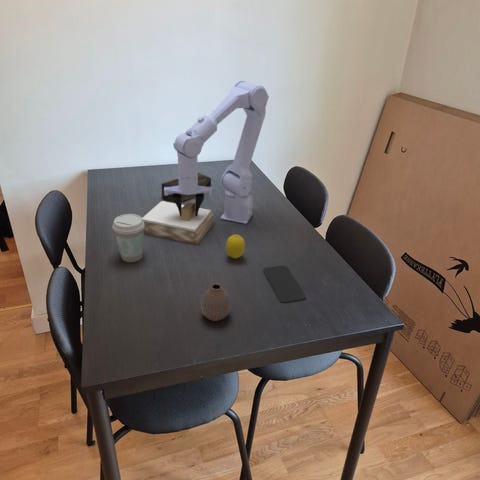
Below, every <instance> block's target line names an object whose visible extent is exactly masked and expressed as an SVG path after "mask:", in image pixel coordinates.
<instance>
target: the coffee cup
mask: <svg viewBox="0 0 480 480" xmlns="http://www.w3.org/2000/svg"><path fill="white" fill-rule="evenodd" d="M142 218H143V217H142V216H141V215H138V214H135V213H124V214H121V215H118V216H117V217H115V218H114V220H113V224H112V230H113V232H114V234H115V237H116V242H117V245H118V250H119V253H120V257H121V260H123V261H124V262H126V263H134V262H135V263H136V262H138V261H139V260H141V259H142V258H143V253H144V252H143V251H144V250H143V249H144V247H143V246H144V230H145V229H144V227H145V224H144V221H143V220H142Z"/></svg>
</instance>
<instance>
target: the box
mask: <svg viewBox="0 0 480 480" xmlns="http://www.w3.org/2000/svg"><path fill="white" fill-rule="evenodd" d="M144 224H145V227H144V229H143V230H144V234H147V235H150V236H155V237H160V238H165V239H170V240H175V241H178V242H185V243H189V244H193V245H199V243H200V242H201V241H202V239H203V238H204V237H205V236H206V234H207V233H208V232H209V230H210V229H211V228H212V226H213V225H214V213H213V212H211V213H210V214H209V216H208V217H207V218H206V219H205V220H204V222H203V223H202V224H201V225H200V226H199V228H198V229H197V230H196V231H195V232H193V231H188V230H183V229H178V228H173V227H168V226H163V225H158V224H153V223H148V222H144Z"/></svg>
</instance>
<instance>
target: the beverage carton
mask: <svg viewBox="0 0 480 480" xmlns="http://www.w3.org/2000/svg"><path fill="white" fill-rule="evenodd" d="M172 186H179V178H176V179H172V180H169V181H166V182H163V183H161V198H162V199H163V200H165V201H166V202H170V203H175V202H174V200H173V194H168V195H164V187H172ZM198 186H205V187H212V178H211V177H210V176H207V175H205V174H203V173H202V172H198ZM192 198H193V199H194V198H196V194H191V195H185V194H181V203H183V202H186V201H187V200H188V201H189V200H191V199H192Z"/></svg>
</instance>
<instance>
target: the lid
mask: <svg viewBox="0 0 480 480" xmlns="http://www.w3.org/2000/svg"><path fill="white" fill-rule="evenodd" d="M181 205H182V208H181V216H180V213H179V210H178V207H177V205H176V204H175V203H170V202H168V201H166V200H165V201H164V200H161V201H160V202H159V203H158V204H156V205H155V206H154V207H153V208H152V209H151V210H149V211H148V212H147V213H146V214H145V215H144V216H142V217H141V218H142V220H143V221H144V222H148V223H153V224H158V225H163V226H168V227H173V228H178V229H183V230H188V231H193V232H195V231H196V230H197V229H198V228H199V226H200V225H201V224H202V223H203V222H204V220H205V219H206V218H207V217H208V216H209V214H210V213H212V209H206V208H202V207H200V208H199V211H198V216H195V206H196V201H191V200H188V201H187V202H186V203H185V204H181Z"/></svg>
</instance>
